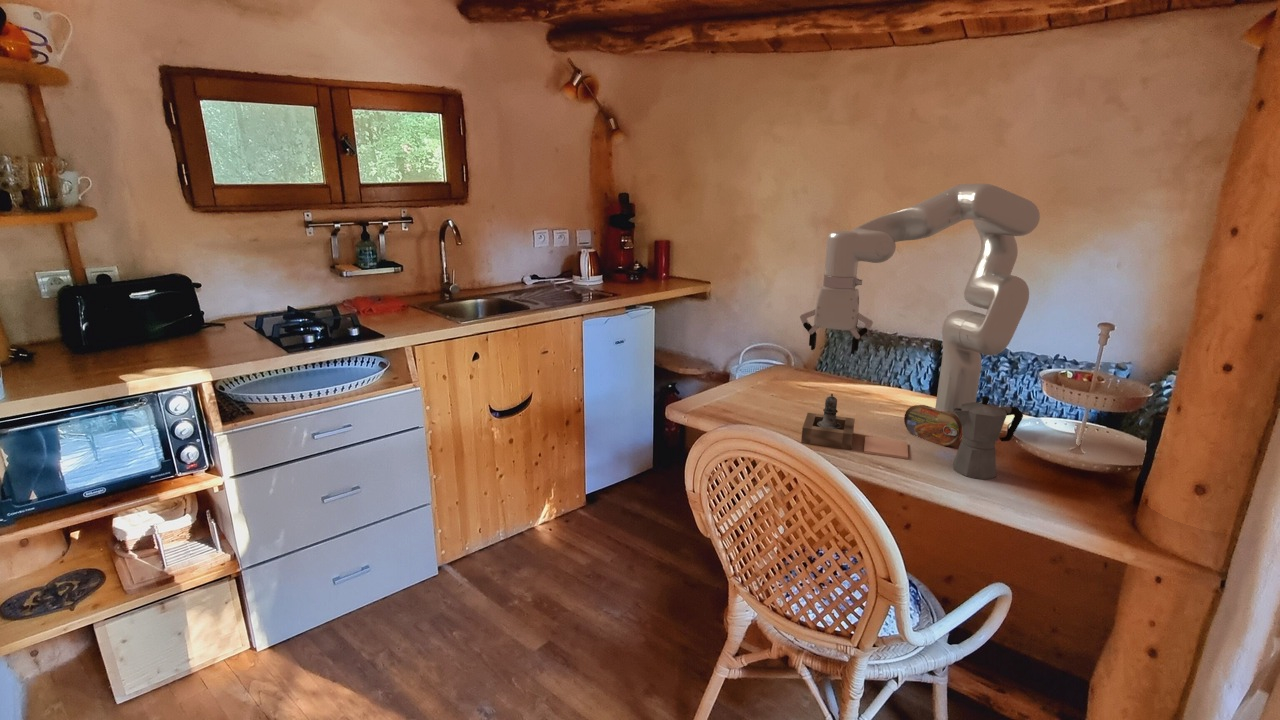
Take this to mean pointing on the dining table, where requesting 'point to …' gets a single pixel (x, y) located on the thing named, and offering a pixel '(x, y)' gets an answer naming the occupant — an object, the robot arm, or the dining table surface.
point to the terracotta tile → (886, 447)
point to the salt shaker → (830, 414)
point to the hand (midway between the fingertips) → (832, 351)
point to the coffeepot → (982, 437)
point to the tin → (933, 424)
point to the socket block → (828, 432)
